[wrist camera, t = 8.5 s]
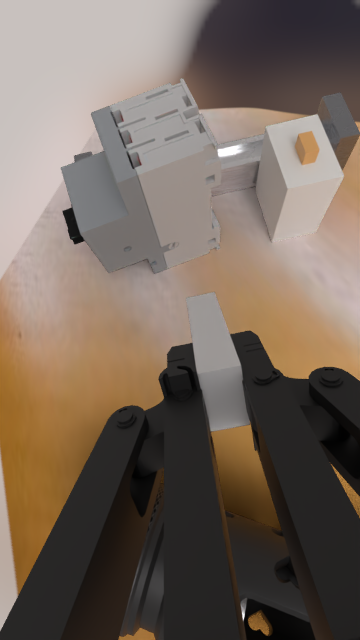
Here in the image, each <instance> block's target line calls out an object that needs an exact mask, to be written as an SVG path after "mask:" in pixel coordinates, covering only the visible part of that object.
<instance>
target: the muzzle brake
mask: <svg viewBox="0 0 360 640" xmlns="http://www.w3.org/2000/svg"><path fill="white" fill-rule="evenodd" d="M225 515H226V521H227V527H228V533H229V539H230V545H231V551H232V557H233V562H234V568H235V574H236V580H237V586H238V592H239V598H240V604H241V610H242V615H243V621H244V627H245V633H246V639H247V640H316V639H315V636H314V633H313V630H312V626H311V623H310V620H309V617H308V613H307V610H306V607H305V604H304V600H303V597H302V594H301V591H300V587H299V584H298V581H297V578H296V574H295V571H294V568H293V565H292V561H291V558H290V555H289V552H288V548H287V545H286V542H285V539H284V535H283V532H282V531H281V530H278V529H275V528H273V527H270V526H267V525H264V524H262V523H259V522H256V521H253V520H251V519H248V518H245V517H243V516H240V515H237V514H234V513H232V512H229V511H226V510H225ZM258 612H260V613H261V615H262V617H263V619H264V620H265V622H266V623H267V625H268V627H269V634H268V636H266V635H265V634H263V632H262V631H261V630H257V631H256V630H252V629H251V628H250V626H249V624H248V618H249V617H251V616H253V615H255V614H257V613H258ZM139 628H143V629H145V630H147V631H149V632H152V633H154V636H155V639H156V640H164V484H163V483H160V485H159V489H158V492H157V496H156V500H155V504H154V507H153V511H152V515H151V519H150V522H149V526H148V530H147V534H146V537H145V541H144V545H143V549H142V552H141V556H140V560H139V564H138V567H137V571H136V575H135V579H134V582H133V586H132V590H131V594H130V597H129V601H128V605H127V609H126V612H125V616H124V620H123V624H122V627H121V631H120V635H119V636H122V637H124V636H125V635H127V634H130V635H132V636H134V634H135V633H136V632H137V631H138V629H139Z"/></svg>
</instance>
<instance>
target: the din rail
mask: <svg viewBox="0 0 360 640" xmlns="http://www.w3.org/2000/svg"><path fill="white" fill-rule="evenodd" d="M317 114H318V116H319V119H320V121H321V123H322V126H323V128H324V130H325V133H326V135H327V137H328V140H329V142H330V144H331V146H332V149H333V151H334V153H335V156H336V158H337V160H338V163H339V165H340V167H341V170H343V168H344V166H345V164H346V162H347V160H348V158H349V156H350V154H351V152H352V150H353V148H354V146H355V144H356V142H357V140H358V138H359V136H360V132H359V130H358V128H357V126H356V124H355V122H354V119H353V117H352V115H351V113H350V111H349V109H348V107H347V105H346V103H345V101H344V98H343V96H342V94H341V93H336V94H332V95H328V96H323V97H322V99H321V102H320V105H319V108H318V112H317ZM263 139H264V134H262V135H257V136H253V137H249V138H245V139H240V140H236V141H232V142H227V143H223V144H219V145H218V148H219V149H217V150H218V156H219V159H220V161H221V184H220V185H218V186H215V187H213V188H211V196H215V195H219V194H224V193H228V192H232V191H237V190H241V189H246V188H250V187H255V186H256V183H257V177H258V170H259V164H260V158H261V152H262V145H263ZM92 155H93V154H92V152H87V153H83V154H79V155H75V156H74V159H75V162H77V161H80V160H82V159H85V158H87V157H90V156H92Z"/></svg>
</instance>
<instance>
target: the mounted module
mask: <svg viewBox="0 0 360 640" xmlns="http://www.w3.org/2000/svg"><path fill="white" fill-rule="evenodd" d="M343 178H344V174H343V172H342V170H341V167H340V165H339V163H338V160H337V158H336V156H335V153H334V151H333V149H332V146H331V144H330V142H329V140H328V137H327V135H326V133H325V130H324V128H323V126H322V123H321V121H320V119H319V116H318V114H316V115H312V116H307V117H303V118H299V119H295V120H290V121H286V122H282V123H278V124H273V125H269V126H266V127H265V133H264V139H263V145H262V152H261V158H260V164H259V170H258V177H257V183H256V189H255V191H256V194H257V197H258V200H259V203H260V207H261V210H262V213H263V216H264V219H265V222H266V226H267V229H268V232H269V235H270V238H271V242H277V241H281V240H286V239H290V238H295V237H300V236H304V235H309V234H313V233H316V231H317V229H318V227H319V225H320V223H321V221H322V219H323V217H324V215H325V213H326V211H327V209H328V207H329V205H330V203H331V201H332V199H333V197H334V195H335V193H336V191H337V190H338V188H339V186H340V184H341V182H342V180H343Z"/></svg>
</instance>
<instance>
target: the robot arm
mask: <svg viewBox="0 0 360 640" xmlns="http://www.w3.org/2000/svg"><path fill="white" fill-rule="evenodd" d="M186 301H187V308H188V315H189V322H190V329H191V336H192V343H190V344H185V345H180V346H175V347H172V348H171V349H170V351H169V352H168V354H167V362H168V363H167V368H166V369H165V370H163V372H162V373H161V374H160V376H159V382H160V385H161V389H162V392H163V395H164V399H163V401H162V402H160V403H159V404H158V405H156V406H154V407H153V408H150V409H148V410H146V411H144V410H143V409H142V408H140V407H139V406H133V405H131V406H125V407H123V408H121V409H118V410H117V411H116V412H114V413H113V414H112V415H111V416H110V418H109V419H108V421H107V423H106V425H105V427H104V429H103V431H102V433H101V435H100V437H99V439H98V440H97V442H96V444H95V446H94V448H93V450H92V452H91V454H90V456H89V458H88V460H87V462H86V464H85V466H84V468H83V470H82V472H81V474H80V476H79V478H78V480H77V482H76V484H75V486H74V488H73V490H72V492H71V493H70V495H69V497H68V499H67V501H66V503H65V505H64V507H63V509H62V511H61V513H60V515H59V517H58V519H57V521H56V523H55V525H54V527H53V529H52V531H51V533H50V535H49V537H48V539H47V541H46V543H45V545H44V546H43V548H42V550H41V552H40V554H39V556H38V558H37V560H36V562H35V564H34V566H33V568H32V570H31V572H30V574H29V576H28V578H27V580H26V582H25V584H24V586H23V588H22V590H21V592H20V594H19V596H18V598H17V599H16V602H15V603H14V605H13V607H12V609H11V611H10V613H9V615H8V617H7V619H6V621H5V623H4V625H3V627H2V629H1V631H0V640H118V639H119V635H120V631H121V627H122V624H123V620H124V616H125V612H126V609H127V605H128V601H129V597H130V594H131V590H132V586H133V582H134V579H135V575H136V571H137V567H138V564H139V560H140V556H141V552H142V549H143V545H144V541H145V537H146V534H147V530H148V526H149V522H150V519H151V515H152V511H153V507H154V504H155V500H156V496H157V492H158V489H159V485H160V481H161V477H162V474H163V468H164V640H247V639H246V633H245V627H244V621H243V615H242V610H241V604H240V598H239V592H238V586H237V580H236V574H235V568H234V562H233V557H232V551H231V545H230V539H229V533H228V527H227V521H226V515H225V509H224V504H223V498H222V492H221V486H220V480H219V474H218V468H217V462H216V456H215V451H214V445H213V440H212V436H211V432H212V431H218V430H223V429H228V428H234V427H239V426H245V425H250V423H251V427H252V434H253V441H254V447H255V451H256V450H257V451H258V454H259V458H260V461H261V464H262V467H263V471H264V474H265V477H266V480H267V484H268V487H269V490H270V493H271V497H272V500H273V503H274V506H275V510H276V513H277V516H278V519H279V523H280V526H281V529H282V532H283V535H284V539H285V542H286V545H287V548H288V552H289V555H290V558H291V561H292V565H293V568H294V571H295V574H296V578H297V581H298V584H299V587H300V591H301V594H302V597H303V600H304V604H305V607H306V610H307V613H308V617H309V620H310V623H311V626H312V630H313V633H314V636H315V639H316V640H360V518H359V516H358V514H357V513H356V511H355V509H354V507H353V505H352V503H351V501H350V499H349V498H348V496H347V494H346V492H345V490H344V488H343V486H342V484H341V483H340V481H339V479H338V477H337V475H336V473H335V471H334V469H333V468H332V466H331V464H332V465H333V466H334V468H335V469H336V470H337V471H338V472H339V473H340V474H341V476H342V477H343V478H344V479H345V480H346V481H347V483H348V484H349V485H350V486H351V487H352V488H353V489H354V491H355V492H356V493H357V494H358V495H359V496H360V381H359V380H358V379H356V378H355V377H354V376H352V375H351V374H349V373H348V372H346V371H344V370H342V369H339V368H335V367H323V368H318V369H316V370H314V371H312V372H311V374H310V375H309V379H295V378H289V377H285V376H283V374H282V373H281V372H280V371H279V370H277V369H275V368H274V366H273V365H272V363H271V361H270V359H269V357H268V355H267V353H266V351H265V349H264V347H263V345H262V343H261V341H260V339H259V337H258V335H256V334H255V333H253V332H251V331H245V332H240V333H235V334H230V333H229V331H228V328H227V325H226V322H225V320H224V317H223V314H222V311H221V308H220V306H219V303H218V300H217V297H216V295H215V292H212V293H207V294H203V295H198V296H193V297H188V298H186ZM249 420H250V421H249ZM330 463H331V464H330Z"/></svg>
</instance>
